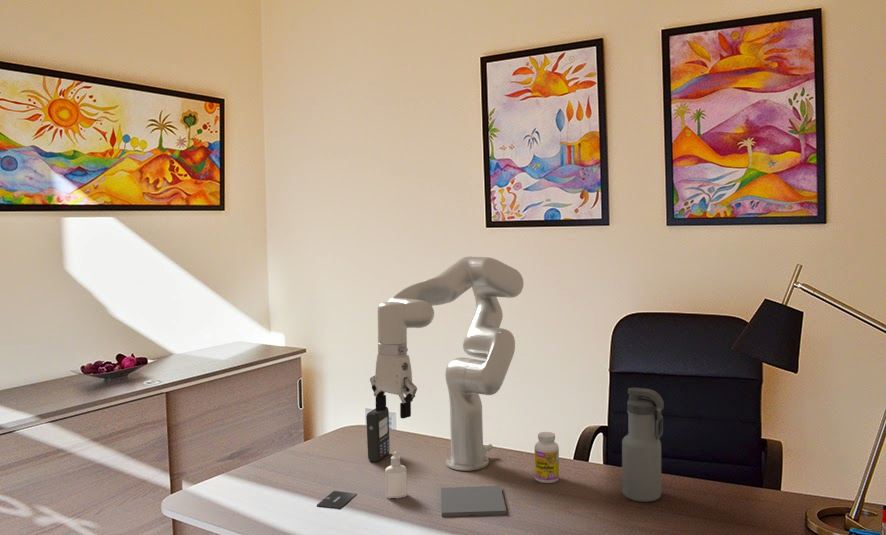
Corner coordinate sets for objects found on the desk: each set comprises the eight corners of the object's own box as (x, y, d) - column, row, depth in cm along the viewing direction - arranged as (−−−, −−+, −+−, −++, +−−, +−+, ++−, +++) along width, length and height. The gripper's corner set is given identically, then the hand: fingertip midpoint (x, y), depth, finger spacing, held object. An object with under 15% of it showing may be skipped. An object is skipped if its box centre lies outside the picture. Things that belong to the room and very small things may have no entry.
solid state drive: (316, 507, 190) (316, 505, 190) (333, 493, 200) (333, 490, 200) (340, 510, 188) (340, 508, 188) (357, 495, 197) (357, 493, 197)
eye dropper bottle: (403, 500, 192) (401, 455, 191) (383, 498, 194) (382, 453, 193) (409, 494, 196) (408, 450, 195) (390, 492, 198) (388, 448, 197)
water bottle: (666, 492, 193) (666, 387, 191) (658, 506, 185) (658, 396, 182) (627, 486, 198) (627, 383, 196) (618, 499, 190) (617, 392, 187)
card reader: (378, 463, 221) (377, 414, 219) (366, 461, 222) (364, 413, 221) (391, 453, 229) (390, 406, 228) (379, 452, 231) (378, 405, 229)
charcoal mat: (441, 491, 198) (440, 487, 198) (500, 489, 198) (500, 485, 198) (441, 516, 182) (441, 512, 182) (506, 514, 182) (506, 510, 182)
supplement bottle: (532, 482, 202) (531, 436, 201) (538, 474, 209) (537, 429, 207) (556, 485, 200) (555, 439, 199) (561, 476, 206) (561, 431, 205)
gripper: (425, 351, 189) (426, 417, 190) (381, 343, 201) (382, 405, 202) (404, 355, 184) (404, 423, 185) (360, 347, 196) (361, 410, 197)
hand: (393, 414), depth 193 cm, fingers open, 9 cm apart
